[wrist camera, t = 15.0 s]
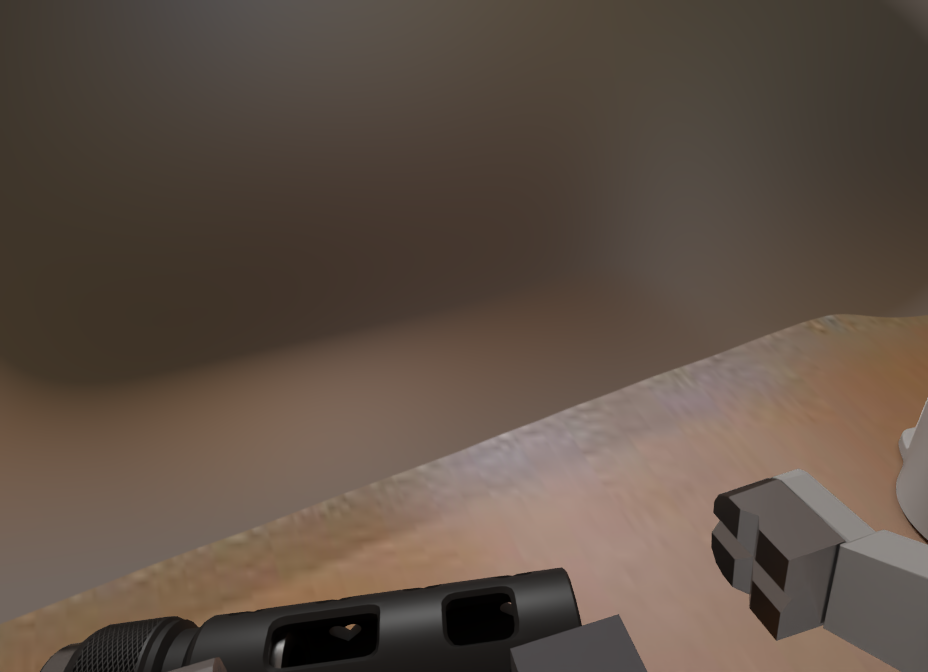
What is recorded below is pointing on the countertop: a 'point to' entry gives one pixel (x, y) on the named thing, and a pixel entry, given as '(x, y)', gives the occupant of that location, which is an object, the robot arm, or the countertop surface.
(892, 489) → the countertop surface
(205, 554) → the countertop surface
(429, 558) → the countertop surface
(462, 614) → the muzzle brake
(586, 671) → the charger
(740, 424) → the countertop surface
